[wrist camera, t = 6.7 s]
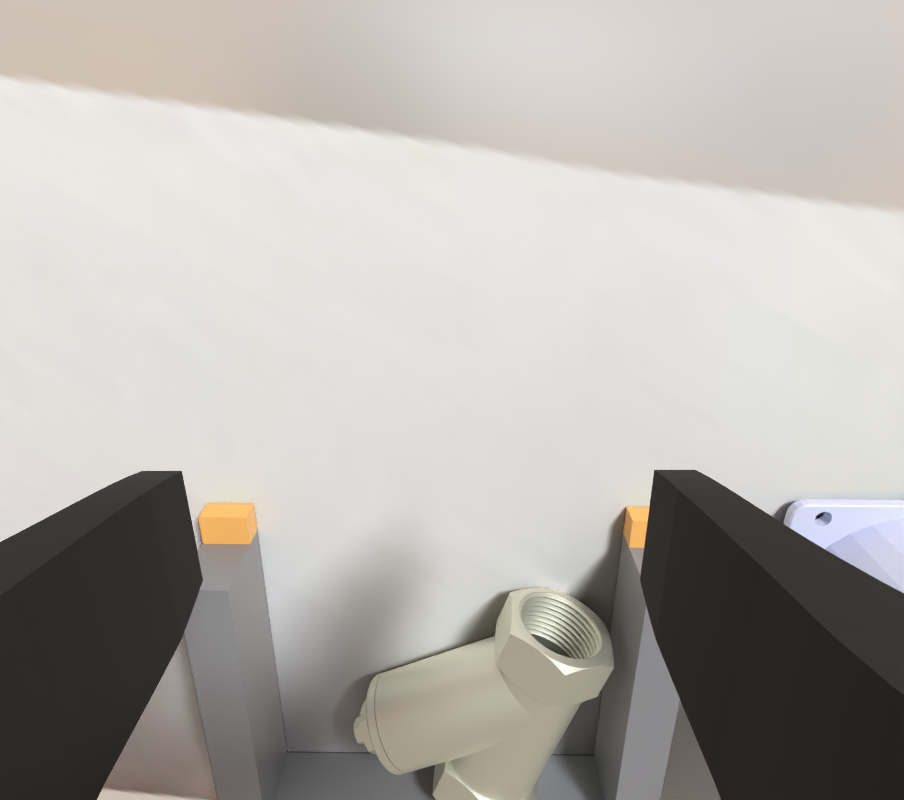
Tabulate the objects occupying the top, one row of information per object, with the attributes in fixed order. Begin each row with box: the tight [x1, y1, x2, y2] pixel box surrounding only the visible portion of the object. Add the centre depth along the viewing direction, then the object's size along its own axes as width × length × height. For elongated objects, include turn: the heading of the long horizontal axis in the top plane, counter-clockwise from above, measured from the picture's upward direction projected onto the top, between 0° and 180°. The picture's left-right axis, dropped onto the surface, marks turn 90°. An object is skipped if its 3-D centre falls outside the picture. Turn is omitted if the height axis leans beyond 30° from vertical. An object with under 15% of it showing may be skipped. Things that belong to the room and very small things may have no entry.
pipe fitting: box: [354, 587, 614, 800], centre depth 22 cm, size 8×4×7 cm
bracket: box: [184, 503, 680, 800], centre depth 22 cm, size 15×13×3 cm
